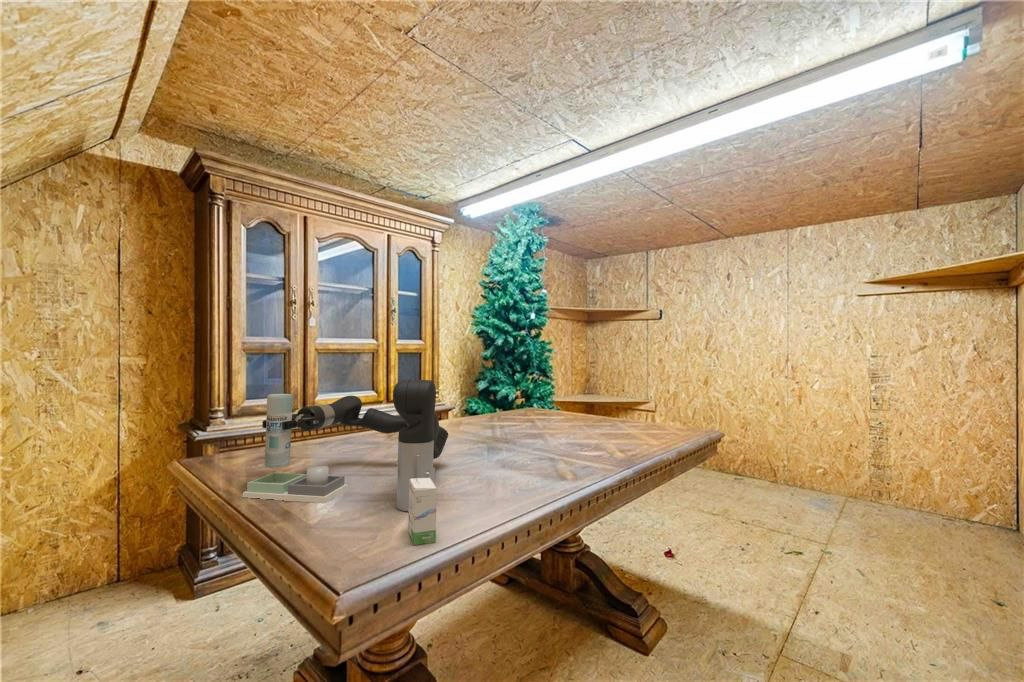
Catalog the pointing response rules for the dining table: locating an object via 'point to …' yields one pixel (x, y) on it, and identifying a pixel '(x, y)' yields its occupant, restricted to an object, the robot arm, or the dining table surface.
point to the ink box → (422, 510)
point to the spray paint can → (278, 430)
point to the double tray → (298, 486)
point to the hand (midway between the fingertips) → (273, 425)
